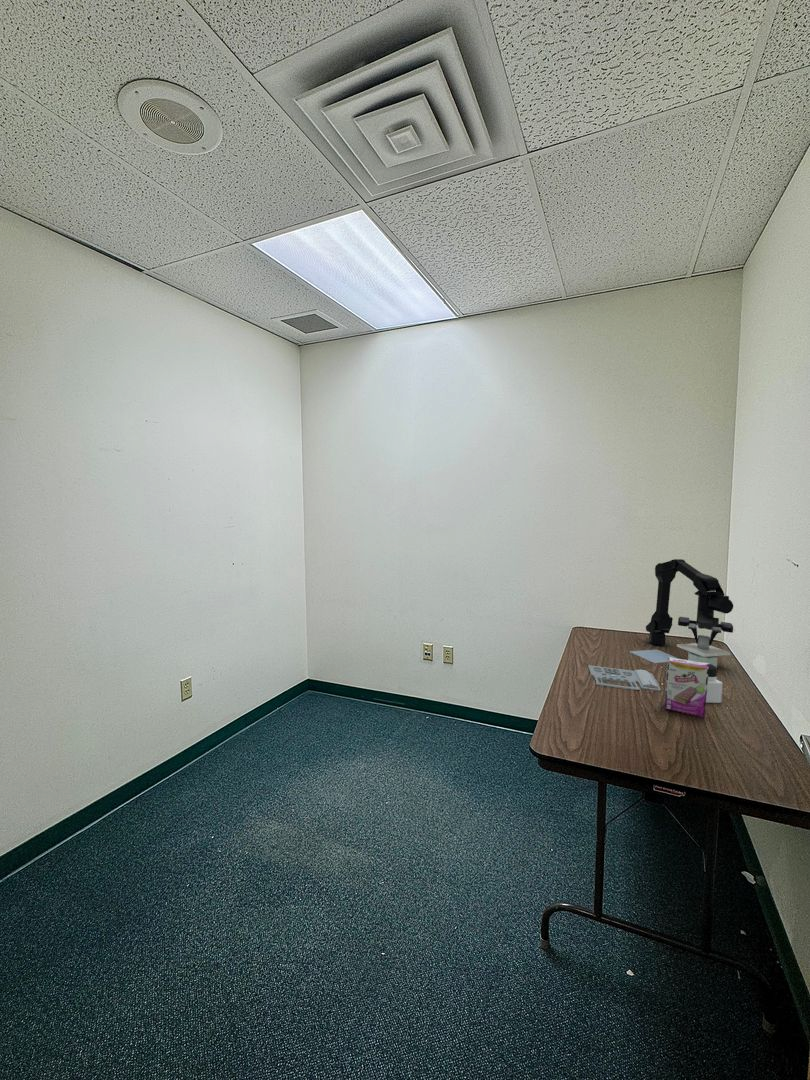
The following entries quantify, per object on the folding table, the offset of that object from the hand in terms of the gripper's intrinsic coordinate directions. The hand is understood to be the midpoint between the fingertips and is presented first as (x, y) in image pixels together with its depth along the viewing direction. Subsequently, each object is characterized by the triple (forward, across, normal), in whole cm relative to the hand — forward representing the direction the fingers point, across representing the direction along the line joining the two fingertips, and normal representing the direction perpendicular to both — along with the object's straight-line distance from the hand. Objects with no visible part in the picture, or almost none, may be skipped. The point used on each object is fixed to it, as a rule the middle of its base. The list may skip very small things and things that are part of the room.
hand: (703, 644), depth 185 cm
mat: (+9, -17, +1) cm, 19 cm away
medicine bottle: (+9, 0, -38) cm, 39 cm away
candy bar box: (+9, -6, -54) cm, 55 cm away
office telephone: (+10, -25, -35) cm, 45 cm away
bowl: (+9, 0, 0) cm, 9 cm away
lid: (+2, 0, 0) cm, 3 cm away
